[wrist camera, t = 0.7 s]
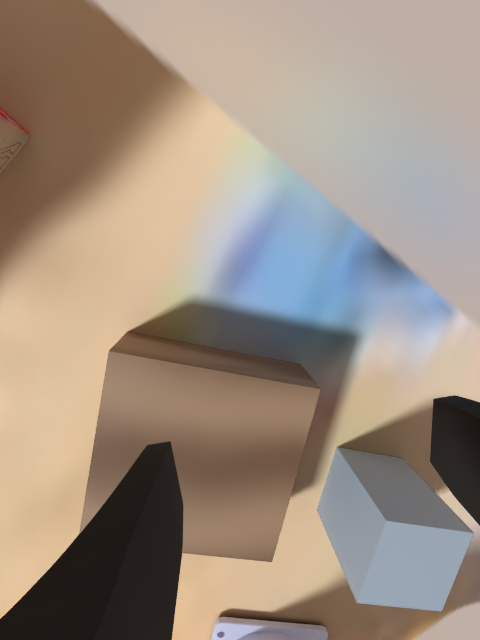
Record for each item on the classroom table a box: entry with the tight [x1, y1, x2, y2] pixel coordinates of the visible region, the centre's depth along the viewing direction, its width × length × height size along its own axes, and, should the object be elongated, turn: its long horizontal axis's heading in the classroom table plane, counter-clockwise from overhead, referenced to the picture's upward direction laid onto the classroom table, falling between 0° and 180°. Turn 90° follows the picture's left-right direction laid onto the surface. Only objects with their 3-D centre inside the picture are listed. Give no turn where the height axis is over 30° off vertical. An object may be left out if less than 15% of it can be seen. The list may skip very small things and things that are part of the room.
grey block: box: [317, 447, 474, 612], centre depth 19 cm, size 5×5×6 cm
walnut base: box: [79, 332, 321, 562], centre depth 18 cm, size 10×10×4 cm
